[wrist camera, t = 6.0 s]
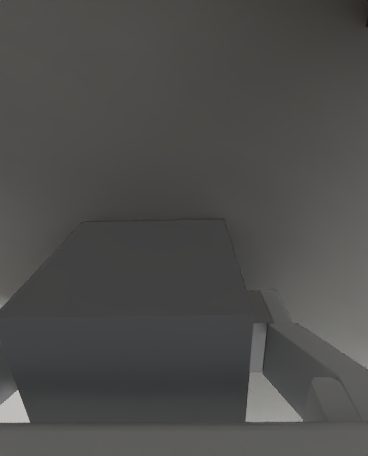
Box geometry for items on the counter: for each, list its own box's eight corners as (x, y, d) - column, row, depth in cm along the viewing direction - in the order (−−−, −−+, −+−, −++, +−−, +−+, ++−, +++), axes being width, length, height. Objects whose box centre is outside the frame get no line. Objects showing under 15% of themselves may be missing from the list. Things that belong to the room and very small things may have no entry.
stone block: (220, 329, 12) (240, 471, 7) (102, 331, 12) (48, 471, 7) (223, 218, 10) (254, 314, 5) (82, 222, 10) (-9, 318, 5)
